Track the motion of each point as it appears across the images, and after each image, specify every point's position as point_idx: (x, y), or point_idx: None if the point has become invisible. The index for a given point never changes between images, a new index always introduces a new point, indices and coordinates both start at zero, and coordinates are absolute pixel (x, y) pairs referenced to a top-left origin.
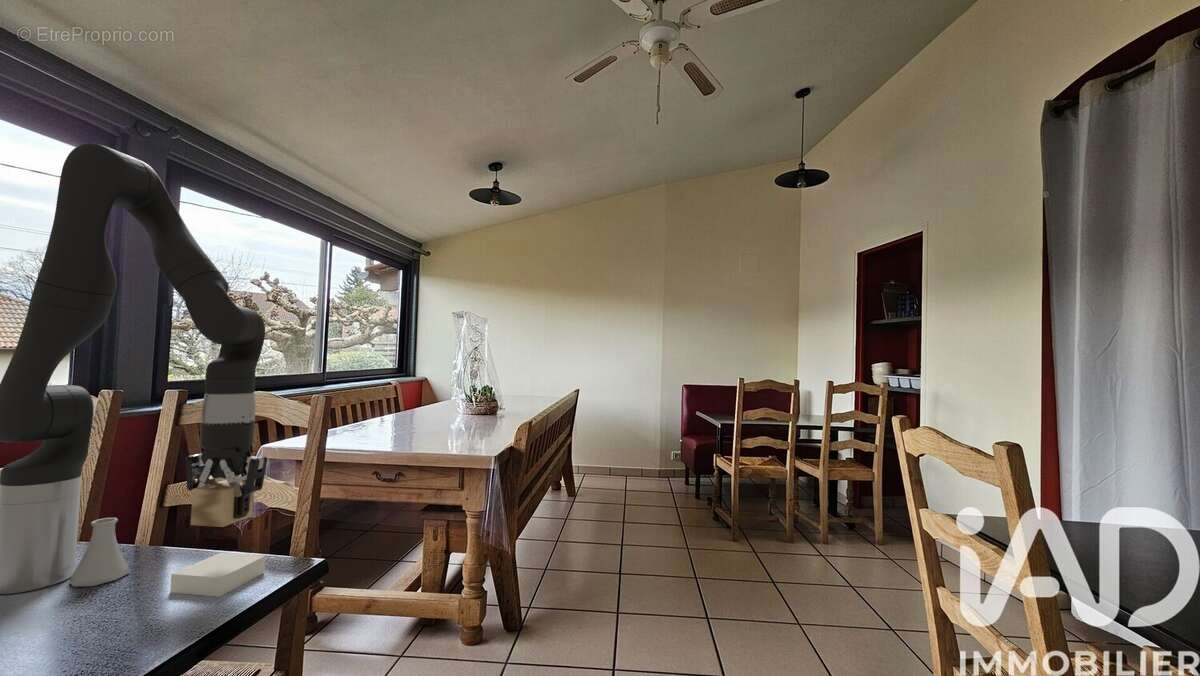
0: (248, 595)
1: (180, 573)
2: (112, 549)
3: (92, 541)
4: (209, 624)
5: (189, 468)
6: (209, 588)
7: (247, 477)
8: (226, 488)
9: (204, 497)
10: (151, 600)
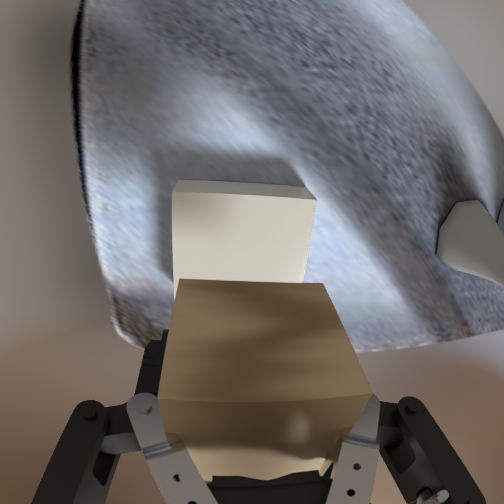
0: (123, 194)
1: (297, 204)
2: (482, 258)
3: None
4: (102, 78)
5: (450, 473)
6: (203, 184)
7: (82, 470)
8: (191, 423)
9: (289, 365)
10: (315, 151)
